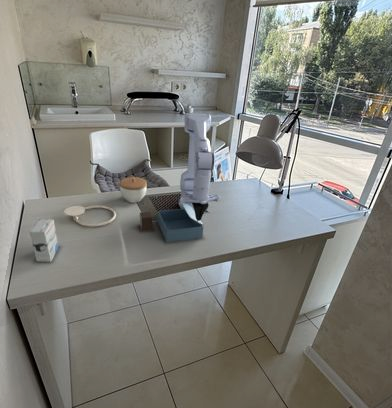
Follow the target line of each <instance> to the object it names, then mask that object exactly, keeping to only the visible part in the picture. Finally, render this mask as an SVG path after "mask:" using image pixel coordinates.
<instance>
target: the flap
mask: <svg viewBox="0 0 392 408" xmlns="http://www.w3.org/2000/svg"><path fill="white" fill-rule="evenodd" d="M178 202H180V198H178ZM182 206H183V208H184V210H185V211H186V213H187V214H188V216H189V218H191V219H192V220H194V221H196V222H198V223H199V224H201V225H203V226H204V223H203V221H202V219H201V220H200V221H197V220H196V217H195V211H194V210H193V208H192V207H191V206H189V205H188V204H184V205H182Z"/></svg>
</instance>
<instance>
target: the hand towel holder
mask: <svg viewBox="0 0 392 408" xmlns="http://www.w3.org/2000/svg"><path fill="white" fill-rule="evenodd" d="M92 209H105V210H107V211H108V210H109V211H110V212H112V213H113V216H112V218H110V219H109V220H107V221H104V222H100V223H86V222H83V221H80V220H79V216H81V215H83V214H84V213H85V211H86V210H92ZM63 213H64V214H65V215H66V216H68V217H73V218H72V220H73V221H74V222H76V223H77V224H79V225H80V226H84V227H91V228H94V227H95V228H97V227H103V226H106V225H108V224H110V223H112V222H114V220H115V219H116V217H117V213H116V211H115V210H114V209H113V208H112V207H110V206H107V205H98V204H97V205H89V206H85V207H83V206H80V205H73V206H69V207H66V208H65V209H64V211H63Z"/></svg>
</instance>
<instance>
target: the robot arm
mask: <svg viewBox="0 0 392 408" xmlns="http://www.w3.org/2000/svg"><path fill="white" fill-rule="evenodd" d="M211 125H212V117H211V114H210V113H192V112H191V113H190V112H186V113H185V114H184V128H183V129H184V132H185V133H188V136H189V143H188V145H189V146H188V157H187V158H188V159H187V169H186V170H185V171H183V172H182V173H181V175H180V180H179V181H180V182H179V189H180V191H181V192H180V197H179V199H180V201H179V202H178V206H179V208H180V209H184V208H183V206H182V205H184V204H188V205H189V206H191V207H192V208H193V210H194V211H195V217H196V220H197V221H200V220H201V221H202V218H203V216H204V214H205V212H206V211H207V210H208V208H209V206H210V205H209V203H210V202H216V203H218V202H220V199H221V196H220V195H219V194H210V187H211V177H212V170H214V168H215V152H214V151H213V150H212V149H211V148H212V147H211V143H210V139H209V138H207V133H208V132H209V131H210V129H211Z"/></svg>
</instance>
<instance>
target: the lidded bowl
mask: <svg viewBox="0 0 392 408" xmlns="http://www.w3.org/2000/svg"><path fill="white" fill-rule="evenodd" d="M147 186H148V182H147V180H146V179H144V178H142V177H139V176H130V177H129V176H128V177H124V178H122V179H121V180H119V190H120V194H121V196H122V197H123V199H124V200H126V201H127V202H128V203H130V204H131V203H132V204H133V203H134V204H136V203H139V202H141V201H142V200H144V198H145V197H146V194H147V188H148V187H147Z"/></svg>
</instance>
